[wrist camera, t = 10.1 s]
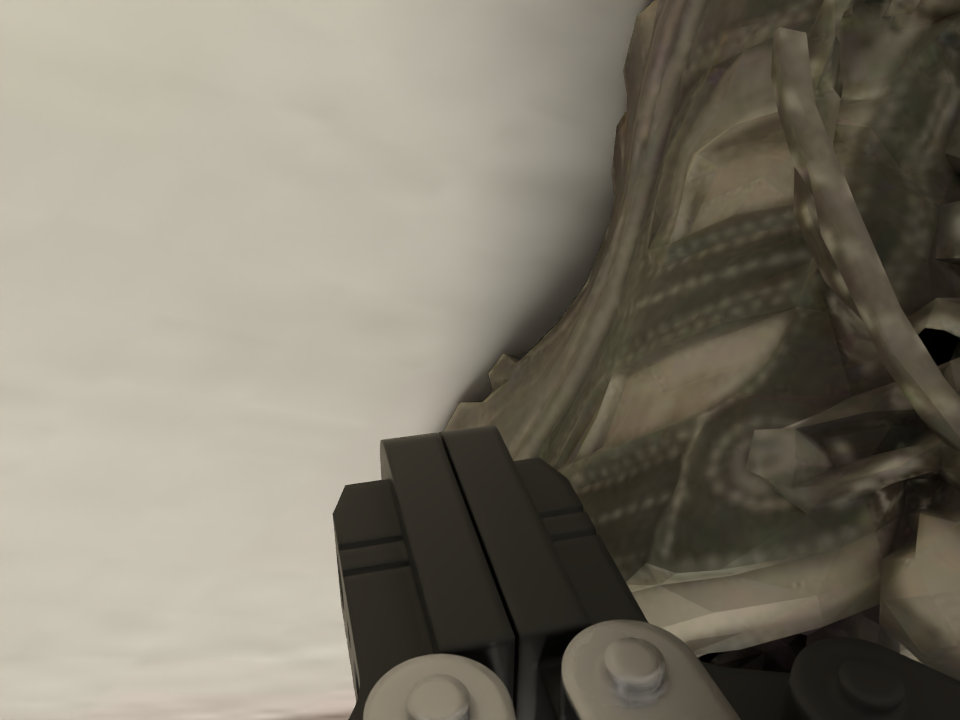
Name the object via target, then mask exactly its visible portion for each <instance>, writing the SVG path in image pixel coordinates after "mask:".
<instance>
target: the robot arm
mask: <svg viewBox="0 0 960 720" xmlns="http://www.w3.org/2000/svg"><path fill="white" fill-rule="evenodd" d="M380 460H381V477H382V480H379V481H372V482H365V483H358V484H351V485H345V488H344V490H343V492H342V494H341V497H340V499H339V501H338V504H337V506H336V508H335V510H334V513H333V521H334V532H335V543H336V553H337V564H338V574H339V585H340V596H341V606H342V612H343V619H344V625H345V632H346V638H347V644H348V651H349V657H350V664H351V669H352V676H353V683H354V689H355V696H356V705H355V708H354V710H353V712H352V714H351V716H350V718H349V720H960V681H958V680H956V679H954V678H952V677H950V676H948V675H945V674H943V673H941V672H939V671H937V670H935V669H932V668H930V667H928V666H926V665H924V664H922V663H919V662H917V661H915V660H913V659H911V658H909V657H906V656H904V655H902V654H900V653H898V652H896V651H893V650H891V649H889V648H887V647H884V646H882V645H879V644H877V643H873V642H870V641H866V640H862V639H856V638H849V637H834V638H826V639H822V640H818V641H816V642H814V643H812V644H809V645H808V646H807V647H805V648H804V649H803V650H801V652H800V653H799V654H798V655H797V657H796V658H795V661H794V663H793V665H792V669H791V673H786V672H774V671H762V670H750V669H738V668H729V667H722V666H717V665H713V664H709V663H705V662H702V661H700V660H699V659H698V658H697V656H696V655H695V654H694V652H693V651H692V650H691V649H690V648H689V646H687V645H686V644H685V643H684V642H683V641H682V640H681V639H679V638H678V637H676V636H675V635H673V634H672V633H670V632H669V631H667V630H665V629H663V628H660V627H658V626H655V625H652V624H649V622H648V621H647V619H646V618H645V616H644V614H643V612H642V610H641V609H640V607H639V605H638V603H637V601H636V600H635V598H634V596H633V594H632V592H631V591H630V589H629V587H628V585H627V583H626V582H625V580H624V578H623V576H622V575H621V573H620V571H619V569H618V567H617V566H616V564H615V562H614V560H613V558H612V557H611V555H610V553H609V551H608V549H607V548H606V546H605V544H604V542H603V540H602V539H601V537H600V535H597V533H596V528H595V526H594V524H593V523H592V521H591V519H590V517H589V515H588V514H587V512H584V509H583V505H582V503H581V501H580V499H579V497H578V496H577V494H576V492H575V490H574V489H573V487H572V485H571V483H570V481H569V480H568V478H566V477H565V476H564V475H562V474H561V473H560V472H558V471H557V470H556V469H554V468H553V467H552V466H550V465H549V464H548V463H546V462H545V461H544V460H543V459H541V458H540V457H538V458H531V459H524V460H517V461H513V459H512V457H511V455H510V453H509V451H508V449H507V447H506V444H505V442H504V440H503V438H502V436H501V434H500V432H499V430H498V428H497V427H496V426H495V425H489V426H481V427H474V428H467V429H459V430H452V431H444V432H439V433H430V434H423V435H415V436H408V437H400V438H393V439H385V440H381V442H380Z"/></svg>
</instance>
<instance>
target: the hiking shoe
mask: <svg viewBox="0 0 960 720" xmlns="http://www.w3.org/2000/svg"><path fill="white" fill-rule="evenodd" d="M623 71H624V77H625V83H626V89H627V112H625V113H624V115H623V117H622V118H621V120H620V122H619V124H618V125H617V129H616V138H615V148H614V158H613V168H612V176H613V185H614V194H615V200H614V205H613V210H612V215H611V220H610V224H609V227H608V229H607V232H606V234H605V237H604V239H603V242H602V245H601V247H600V250H599V252H598V255H597V258H596V260H595V263H594V265H593V268H592V271H591V273H590V276H589V279H588V281H587V283H586V284H585V285H584V287H583V288H582V290H581V291H580V293H579V294H578V295H577V297H576V298H575V300H574V301H573V303H572V304H571V305H570V307H569V308H568V310H567V311H566V312H565V313H564V315H563V316H562V317H561V319H560V320H559V321H558V323H557V324H556V325H555V326H554V327H553V328H552V329H551V330H550V331H549V332H548V333H547V334H546V335H545V336H544V337H543V338H542V339H541V340H540V341H539V342H538V343H537V344H536V345H535V346H534V347H533V348H532V349H531V350H530V351H529V352H528V353H527V354H526V355H525V356H524V357H523V358H522V359H521V360H519V359H516V358H513V357H511V356H508V355H505V354H503V355H502V356H501V357H500V359H499V360H498V361H497V363H496V364H495V365H494V367H493V368H492V369H491V371H490V372H489V373H488V374H489V378H490V382H491V386H492V389H493V392H492V393H491V394H490V395H489V396H488V397H487V398H486V399H485V400H484V401H483V402H461V403H459V405H458V407H457V408H456V410H455V412H454V414H453V416H452V417H451V419H450V421H449V423H448V425H447V426H446V428H445V430H444V431H452V430H459V429H467V428H474V427H481V426H489V425H495V426H496V427H497V428H498V430H499V432H500V434H501V436H502V438H503V440H504V442H505V444H506V447H507V449H508V451H509V453H510V455H511V457H512V459H513V461H517V460H524V459H531V458H538V457H540V458H541V459H543V460H544V461H545V462H546V463H548V464H549V465H550V466H552V467H553V468H554V469H556V470H557V471H558V472H560V473H561V474H562V475H564V476H565V477H566V478H568V480H569V481H570V483H571V485H572V487H573V489H574V490H575V492H576V494H577V496H578V497H579V499H580V501H581V503H582V505H583V509H584V512H587V514H588V515H589V517H590V519H591V521H592V523H593V524H594V526H595V528H596V533H597V535H600V537H601V539H602V540H603V542H604V544H605V546H606V548H607V549H608V551H609V553H610V555H611V557H612V558H613V560H614V562H615V564H616V566H617V567H618V569H619V571H620V573H621V575H622V576H623V578H624V580H625V582H626V583H627V585H628V587H629V589H630V591H631V592H632V594H633V596H634V598H635V600H636V601H637V603H638V605H639V607H640V609H641V610H642V612H643V614H644V616H645V618H646V619H647V621H648V622H649V624H652V625H655V626H658V627H660V628H663V629H665V630H667V631H669V632H670V633H672V634H673V635H675V636H676V637H678V638H679V639H681V640H682V641H683V642H684V643H685V644H686V645H687V646H689V648H690V649H691V650H692V651H693V652H694V654H695V655H696V656H697V658H698V659H699V660H700V661H702V662H705V663H709V664H713V665H717V666H722V667H729V668H738V669H750V670H762V671H774V672H786V673H791V669H792V665H793V663H794V661H795V658H796V657H797V655H798V654H799V653H800V652H801V650H803V649H804V648H805V647H807V646H808V645H809V644H812V643H814V642H816V641H818V640H822V639H826V638H834V637H849V638H856V639H862V640H866V641H870V642H873V643H877V644H879V645H882V646H884V647H887V648H889V649H891V650H893V651H896V652H898V653H900V654H902V655H904V656H906V657H909V658H911V659H913V660H915V661H917V662H919V663H922V664H924V665H926V666H928V667H930V668H932V669H935V670H937V671H939V672H941V673H943V674H945V675H948V676H950V677H952V678H954V679H956V680H958V681H960V0H654V1H653V2H652V3H651V4H650V5H649V6H648V7H647V8H645V9H644V10H643V11H642V12H641V13H640V14H639V15H638V16H637V19H636V23H635V27H634V31H633V35H632V38H631V42H630V46H629V50H628V54H627V58H626V62H625V66H624V70H623Z"/></svg>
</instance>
